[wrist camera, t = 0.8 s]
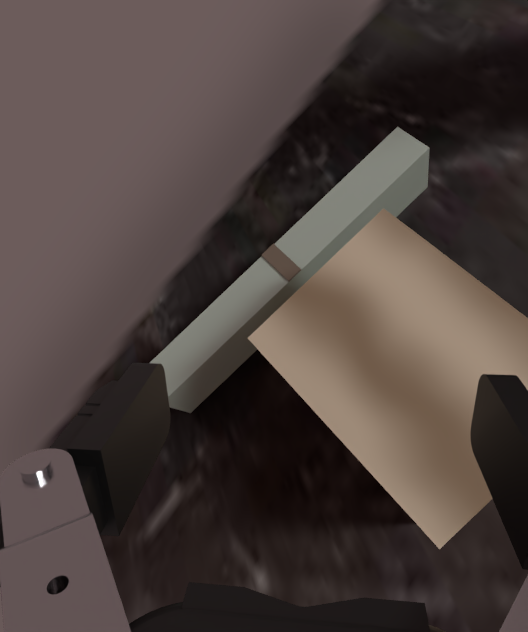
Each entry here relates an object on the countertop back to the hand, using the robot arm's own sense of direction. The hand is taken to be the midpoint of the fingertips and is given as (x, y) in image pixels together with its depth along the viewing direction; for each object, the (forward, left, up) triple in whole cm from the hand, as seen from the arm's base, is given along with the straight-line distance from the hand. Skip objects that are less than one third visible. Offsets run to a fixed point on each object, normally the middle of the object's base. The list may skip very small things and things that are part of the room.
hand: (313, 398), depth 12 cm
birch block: (-4, -1, -23) cm, 23 cm away
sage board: (-4, -13, -23) cm, 26 cm away
